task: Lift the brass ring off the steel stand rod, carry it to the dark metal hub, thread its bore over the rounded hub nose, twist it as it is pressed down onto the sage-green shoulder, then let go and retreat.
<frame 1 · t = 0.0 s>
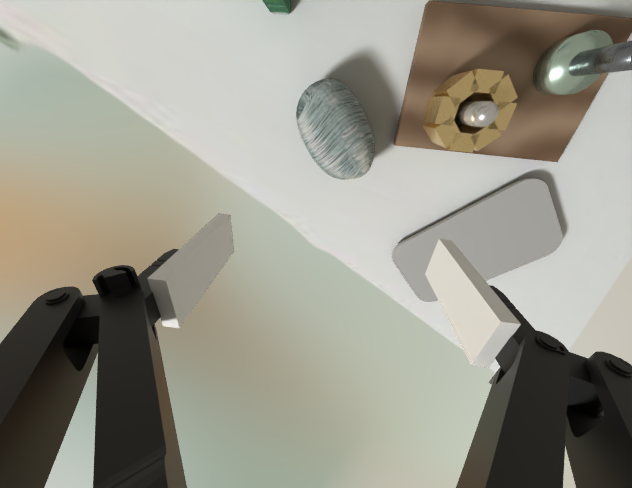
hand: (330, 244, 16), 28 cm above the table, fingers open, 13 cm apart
walnut plate: (494, 91, 33), on the table
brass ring: (456, 112, 31), point 4 cm above the table, touching stand rod
hub: (551, 68, 32), resting on walnut plate
grey marbled egg: (336, 130, 38), on the table
stand rod: (443, 111, 35), resting on walnut plate
tablet: (466, 243, 46), on the table
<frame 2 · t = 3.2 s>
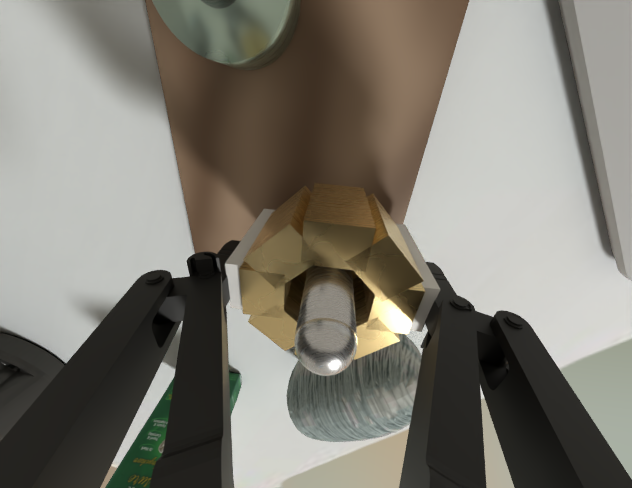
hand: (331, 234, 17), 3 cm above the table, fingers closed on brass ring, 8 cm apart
walnut plate: (298, 131, 16), on the table
coffee box: (212, 372, 32), on the table
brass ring: (330, 247, 15), point 5 cm above the table, touching gripper, stand rod
hub: (250, 6, 13), resting on walnut plate
grey marbled egg: (352, 344, 27), on the table
stand rod: (332, 218, 19), resting on walnut plate
when the fingers open (3 cm above the table, at t = 9.8 s): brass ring stays where it is, resting on hub.
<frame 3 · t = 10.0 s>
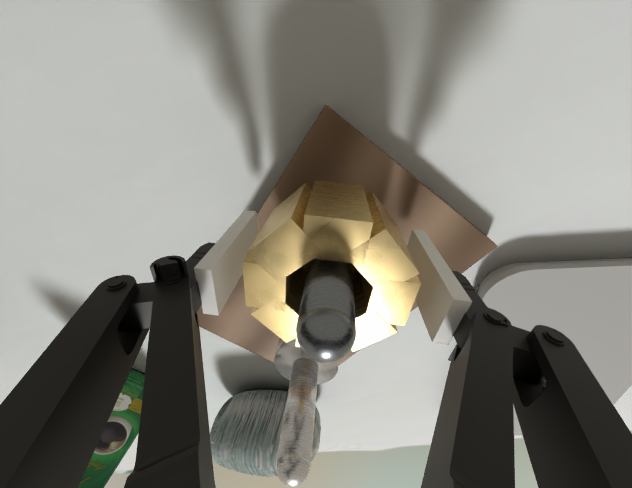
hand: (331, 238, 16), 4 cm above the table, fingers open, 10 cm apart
walnut plate: (319, 279, 23), on the table
coffee box: (141, 374, 34), on the table
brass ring: (330, 243, 16), point 4 cm above the table, touching hub
hub: (332, 215, 20), resting on walnut plate
grey marbled egg: (274, 394, 34), on the table
stand rod: (310, 327, 26), resting on walnut plate
tablet: (530, 350, 26), on the table
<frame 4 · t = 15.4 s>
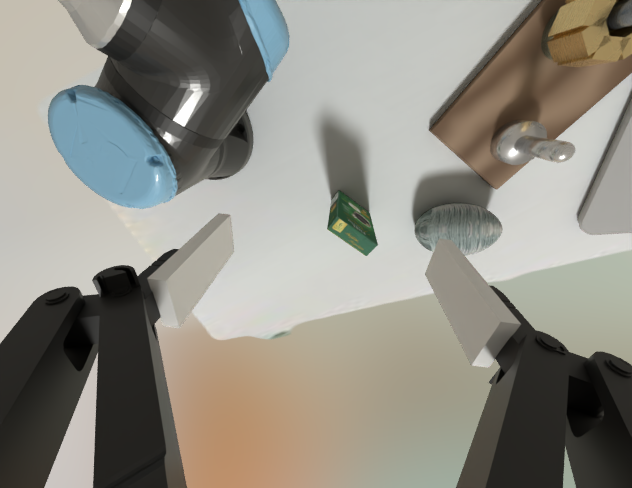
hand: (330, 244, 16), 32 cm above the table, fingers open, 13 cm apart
walnut plate: (529, 92, 36), on the table
coffee box: (349, 205, 48), on the table
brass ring: (588, 25, 29), point 4 cm above the table, touching hub
hub: (558, 34, 33), resting on walnut plate
grey marbled egg: (446, 219, 48), on the table
stand rod: (505, 140, 40), resting on walnut plate
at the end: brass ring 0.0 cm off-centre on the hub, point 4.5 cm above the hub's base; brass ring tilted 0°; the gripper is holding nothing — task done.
